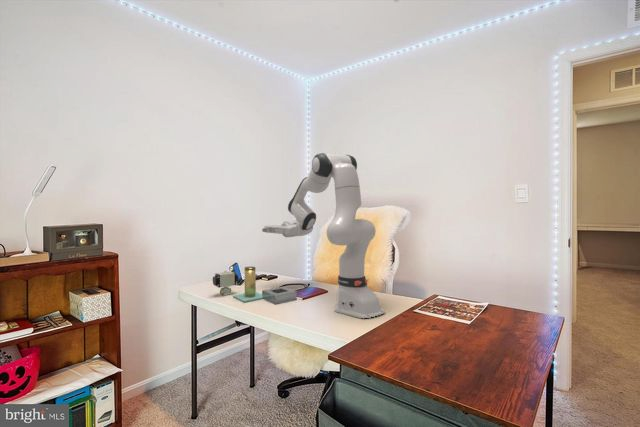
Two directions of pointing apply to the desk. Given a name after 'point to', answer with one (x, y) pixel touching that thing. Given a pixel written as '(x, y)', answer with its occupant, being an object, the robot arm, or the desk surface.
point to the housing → (279, 295)
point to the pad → (244, 299)
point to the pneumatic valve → (225, 281)
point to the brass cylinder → (250, 282)
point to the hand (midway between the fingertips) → (268, 230)
